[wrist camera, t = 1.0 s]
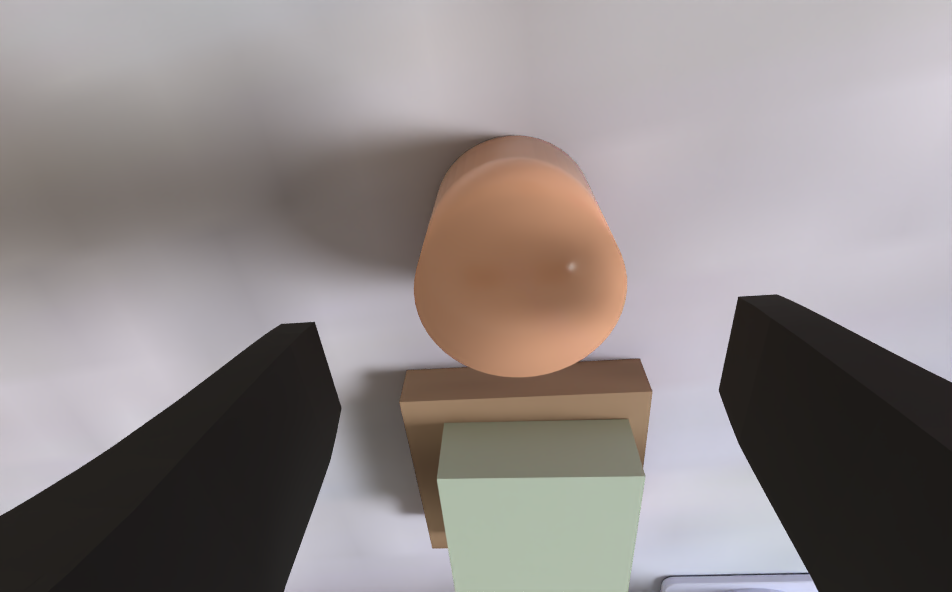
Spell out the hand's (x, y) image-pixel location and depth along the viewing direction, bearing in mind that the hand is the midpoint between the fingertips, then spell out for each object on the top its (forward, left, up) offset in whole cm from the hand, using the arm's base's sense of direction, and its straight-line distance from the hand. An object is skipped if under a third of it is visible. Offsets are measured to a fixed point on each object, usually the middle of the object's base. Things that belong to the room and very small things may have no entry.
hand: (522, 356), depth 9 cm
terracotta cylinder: (0, 0, -7) cm, 7 cm away
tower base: (-10, 0, -7) cm, 12 cm away
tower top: (-10, 0, -5) cm, 11 cm away
